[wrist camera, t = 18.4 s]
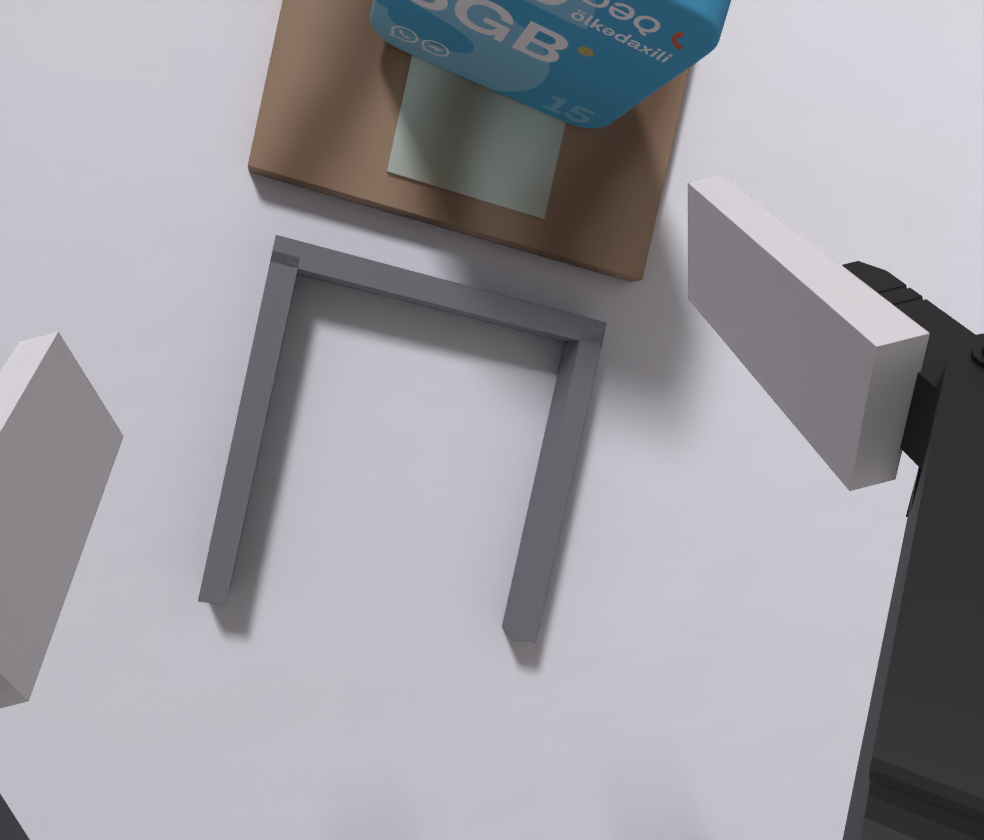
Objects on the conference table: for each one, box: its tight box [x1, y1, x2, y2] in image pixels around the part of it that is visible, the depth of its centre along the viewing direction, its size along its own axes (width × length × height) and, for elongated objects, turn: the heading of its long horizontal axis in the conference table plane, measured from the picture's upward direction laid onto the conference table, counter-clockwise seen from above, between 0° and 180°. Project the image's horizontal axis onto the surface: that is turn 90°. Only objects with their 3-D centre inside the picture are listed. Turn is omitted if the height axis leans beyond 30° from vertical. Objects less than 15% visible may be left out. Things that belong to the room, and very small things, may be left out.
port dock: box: [248, 0, 689, 282], centre depth 36 cm, size 20×18×1 cm
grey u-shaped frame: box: [198, 235, 606, 643], centre depth 36 cm, size 16×17×2 cm
